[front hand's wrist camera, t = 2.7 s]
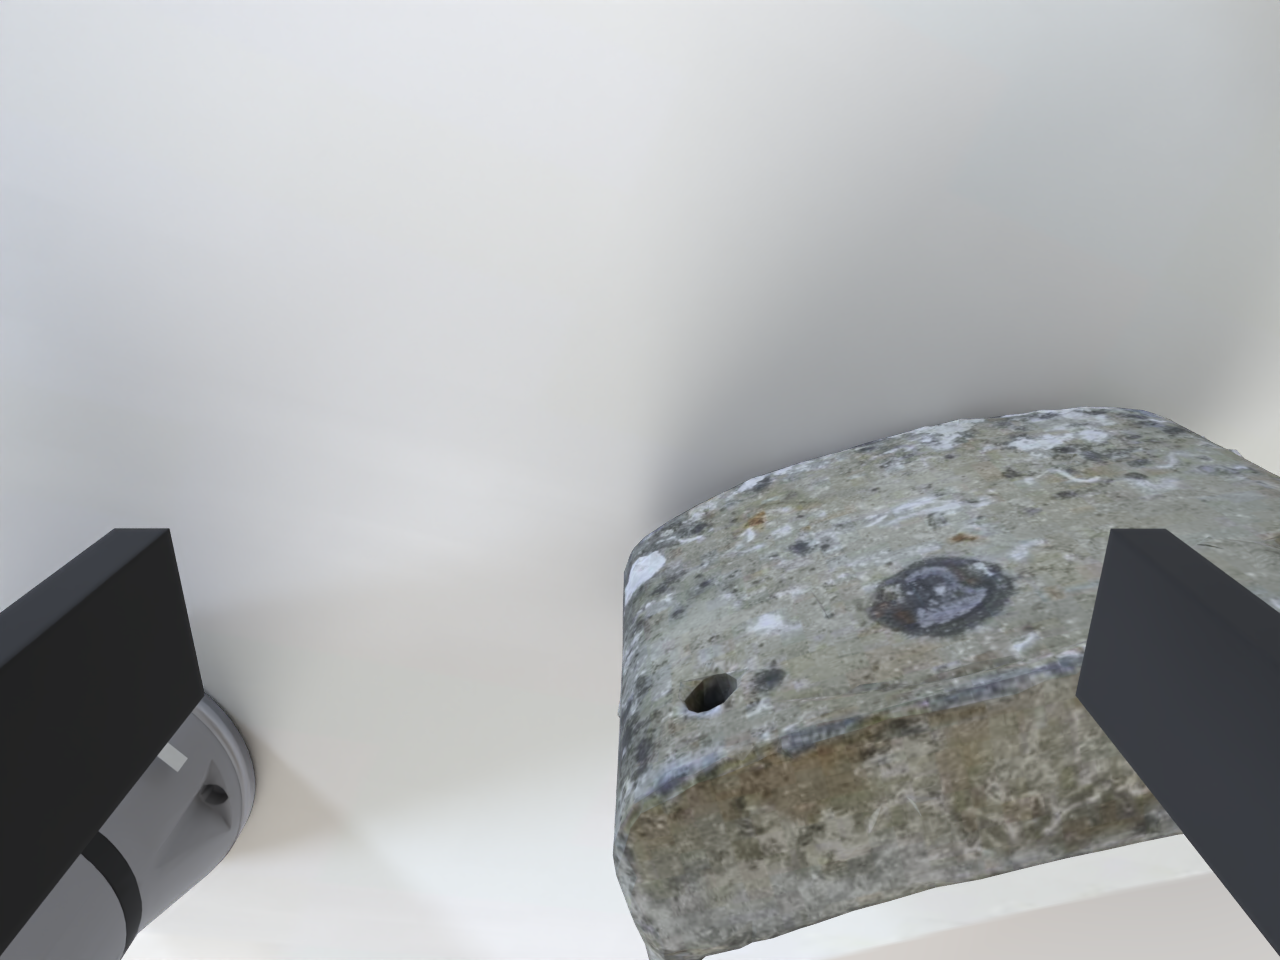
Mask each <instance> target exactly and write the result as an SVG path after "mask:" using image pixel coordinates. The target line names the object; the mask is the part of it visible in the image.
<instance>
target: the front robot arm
mask: <svg viewBox="0 0 1280 960" xmlns="http://www.w3.org/2000/svg"><path fill="white" fill-rule="evenodd" d="M1075 696H1076V697H1077V698H1078V699H1079V701H1080V702H1081V703H1082V705H1083V706H1084V707H1085V708H1086V710H1087V711H1088V712H1089V714H1090V715H1091V716H1092V717H1093V719H1094V720H1095V721H1096V722H1097V724H1098V725H1099V726H1100V728H1101V729H1102V730H1103V731H1104V733H1105V734H1106V735H1107V737H1108V738H1109V739H1110V740H1111V742H1112V743H1113V744H1114V745H1115V747H1116V748H1117V749H1118V751H1119V752H1120V753H1121V754H1122V756H1123V757H1124V758H1125V759H1126V761H1127V762H1128V763H1129V765H1130V766H1131V767H1132V768H1133V770H1134V771H1135V772H1136V774H1137V775H1138V776H1139V777H1140V779H1141V780H1142V781H1143V782H1144V784H1145V785H1146V786H1147V788H1148V789H1149V790H1150V791H1151V793H1152V794H1153V795H1154V796H1155V798H1156V799H1157V800H1158V802H1159V803H1160V804H1161V805H1162V807H1163V808H1164V809H1165V811H1166V812H1167V813H1168V814H1169V816H1170V817H1171V818H1172V819H1173V821H1174V822H1175V823H1176V825H1177V826H1178V827H1179V828H1180V830H1181V831H1182V832H1183V834H1184V835H1185V836H1186V837H1187V839H1188V840H1189V841H1190V842H1191V844H1192V845H1193V846H1194V848H1195V849H1196V850H1197V851H1198V853H1199V854H1200V855H1201V856H1202V858H1203V859H1204V860H1205V862H1206V863H1207V864H1208V865H1209V867H1210V868H1211V869H1212V871H1213V872H1214V873H1215V874H1216V876H1217V877H1218V878H1219V879H1220V881H1221V882H1222V883H1223V885H1224V886H1225V887H1226V888H1227V890H1228V891H1229V892H1230V893H1231V895H1232V896H1233V897H1234V899H1235V900H1236V901H1237V902H1238V904H1239V905H1240V906H1241V908H1242V909H1243V910H1244V911H1245V913H1246V914H1247V915H1248V916H1249V918H1250V919H1251V920H1252V922H1253V923H1254V924H1255V925H1256V927H1257V928H1258V929H1259V931H1260V932H1261V933H1262V934H1263V935H1264V937H1265V938H1266V939H1267V941H1268V942H1269V943H1270V945H1271V946H1272V947H1273V948H1274V950H1275V951H1276V952H1277V953H1278V955H1279V956H1280V613H1279V612H1278V611H1276V610H1275V609H1274V608H1272V607H1271V606H1270V605H1268V604H1267V603H1266V602H1264V601H1263V600H1262V599H1260V598H1259V597H1258V596H1256V595H1255V594H1253V593H1252V592H1251V591H1249V590H1248V589H1247V588H1245V587H1244V586H1243V585H1241V584H1240V583H1239V582H1237V581H1236V580H1235V579H1233V578H1232V577H1230V576H1229V575H1228V574H1226V573H1225V572H1224V571H1222V570H1221V569H1220V568H1218V567H1217V566H1216V565H1214V564H1213V563H1212V562H1210V561H1209V560H1207V559H1206V558H1205V557H1203V556H1202V555H1201V554H1199V553H1198V552H1197V551H1195V550H1194V549H1193V548H1191V547H1190V546H1189V545H1187V544H1186V543H1184V542H1183V541H1182V540H1180V539H1179V538H1178V537H1176V536H1175V535H1174V534H1172V533H1171V532H1170V531H1168V530H1167V529H1110V534H1109V539H1108V543H1107V548H1106V553H1105V558H1104V562H1103V567H1102V572H1101V576H1100V581H1099V586H1098V591H1097V595H1096V600H1095V605H1094V609H1093V614H1092V619H1091V624H1090V628H1089V633H1088V638H1087V643H1086V647H1085V652H1084V657H1083V661H1082V666H1081V671H1080V676H1079V680H1078V685H1077V690H1076V695H1075ZM254 796H255V775H254V769H253V764H252V760H251V757H250V754H249V751H248V749H247V746H246V744H245V742H244V740H243V738H242V736H241V735H240V733H239V731H238V729H237V728H236V726H235V725H234V724H233V722H232V721H231V719H230V718H229V717H228V716H227V714H226V713H225V712H224V711H223V710H222V709H221V708H220V707H219V706H218V705H217V704H216V703H215V702H214V701H213V700H212V699H211V698H210V697H209V696H208V695H207V694H205V693H204V690H203V685H202V680H201V676H200V671H199V666H198V661H197V657H196V652H195V647H194V643H193V638H192V633H191V628H190V624H189V619H188V614H187V609H186V605H185V600H184V595H183V591H182V586H181V581H180V576H179V572H178V567H177V562H176V558H175V553H174V548H173V543H172V539H171V534H170V529H113V530H112V531H110V532H109V533H108V534H106V535H105V536H104V537H102V538H101V539H100V540H98V541H97V542H96V543H94V544H93V545H91V546H90V547H89V548H87V549H86V550H85V551H83V552H82V553H81V554H79V555H78V556H77V557H75V558H74V559H73V560H71V561H70V562H68V563H67V564H66V565H64V566H63V567H62V568H60V569H59V570H58V571H56V572H55V573H54V574H52V575H51V576H50V577H48V578H47V579H45V580H44V581H43V582H41V583H40V584H39V585H37V586H36V587H35V588H33V589H32V590H31V591H29V592H28V593H27V594H25V595H24V596H22V597H21V598H20V599H18V600H17V601H16V602H14V603H13V604H12V605H10V606H9V607H8V608H6V609H5V610H4V611H2V612H1V613H0V960H121V959H122V957H123V955H124V954H125V952H126V951H127V949H128V948H129V946H130V945H131V943H132V941H133V940H134V938H135V937H136V935H137V934H138V933H139V932H140V931H141V930H142V929H143V928H145V927H146V926H147V925H148V924H149V923H151V922H152V921H153V920H154V919H155V918H157V917H158V916H159V915H160V914H161V913H162V912H164V911H165V910H166V909H167V908H168V907H170V906H171V905H172V904H173V903H174V902H176V901H177V900H178V899H179V898H180V897H182V896H183V895H184V894H185V893H186V892H187V891H189V890H190V889H191V888H192V887H193V886H195V885H196V884H197V883H198V882H199V881H201V880H202V879H203V878H204V877H205V876H207V875H208V874H209V873H210V872H211V871H212V870H213V869H214V868H215V867H216V866H217V865H218V864H219V863H220V862H221V861H222V860H223V858H224V857H225V856H226V855H227V854H228V852H229V851H230V849H231V848H232V846H233V845H234V843H235V841H236V839H237V838H238V836H239V834H240V833H241V831H242V829H243V827H244V826H245V824H246V822H247V820H248V817H249V815H250V812H251V809H252V806H253V801H254Z"/></svg>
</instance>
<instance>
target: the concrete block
mask: <svg viewBox="0 0 1280 960" xmlns="http://www.w3.org/2000/svg"><path fill="white" fill-rule="evenodd" d="M1110 529H1167V530H1168V531H1170V532H1171V533H1172V534H1174V535H1175V536H1176V537H1178V538H1179V539H1180V540H1182V541H1183V542H1184V543H1186V544H1187V545H1189V546H1190V547H1191V548H1193V549H1194V550H1195V551H1197V552H1198V553H1199V554H1201V555H1202V556H1203V557H1205V558H1206V559H1207V560H1209V561H1210V562H1212V563H1213V564H1214V565H1216V566H1217V567H1218V568H1220V569H1221V570H1222V571H1224V572H1225V573H1226V574H1228V575H1229V576H1230V577H1232V578H1233V579H1235V580H1236V581H1237V582H1239V583H1240V584H1241V585H1243V586H1244V587H1245V588H1247V589H1248V590H1249V591H1251V592H1252V593H1253V594H1255V595H1256V596H1258V597H1259V598H1260V599H1262V600H1263V601H1264V602H1266V603H1267V604H1268V605H1270V606H1271V607H1272V608H1274V609H1275V610H1276V611H1278V612H1279V613H1280V477H1279V476H1277V475H1275V474H1273V473H1270V472H1269V471H1267V470H1265V469H1263V468H1261V467H1260V466H1258V465H1256V464H1254V463H1252V462H1250V461H1248V460H1246V459H1244V458H1243V457H1242V455H1241V454H1240V453H1239V452H1238V451H1237V450H1229V449H1225V448H1223V447H1221V446H1219V445H1217V444H1215V443H1213V442H1211V441H1209V440H1207V439H1206V438H1205V437H1204V436H1200V435H1198V434H1196V433H1194V432H1192V431H1190V430H1188V429H1186V428H1184V427H1182V426H1181V425H1179V424H1177V423H1175V422H1173V421H1171V420H1170V419H1167V418H1164V417H1162V416H1159V415H1156V414H1153V413H1150V412H1147V411H1144V410H1134V409H1125V408H1110V407H1078V408H1070V409H1062V410H1038V411H1034V412H1030V413H1024V414H1015V415H1005V416H999V417H993V418H983V419H958V420H955V421H951V422H947V423H943V424H939V425H936V426H925V427H922V428H918V429H915V430H912V431H909V432H905V433H902V434H898V435H895V436H891V437H887V438H883V439H880V440H876V441H872V442H869V443H866V444H862V445H859V446H856V447H853V448H850V449H847V450H844V451H841V452H837V453H833V454H829V455H825V456H822V457H818V458H815V459H811V460H808V461H804V462H800V463H797V464H794V465H791V466H788V467H785V468H783V469H779V470H776V471H773V472H770V473H767V474H764V475H761V476H757V477H754V478H751V479H750V480H748V481H746V482H744V483H742V484H740V485H738V486H736V487H734V488H732V489H730V490H727V491H725V492H723V493H721V494H719V495H717V496H715V497H713V498H711V499H709V500H707V501H705V502H703V503H701V504H699V505H697V506H695V507H693V508H691V509H690V510H688V511H686V512H684V513H683V514H681V515H679V516H677V517H675V518H674V519H672V520H670V521H669V522H667V523H666V524H664V525H663V526H661V527H659V528H658V529H656V530H655V531H653V532H652V533H650V534H649V535H647V536H646V537H644V538H643V539H642V540H641V542H640V543H639V544H638V545H637V546H636V547H635V548H634V549H633V551H632V553H631V554H630V557H629V560H628V563H627V566H626V569H625V571H624V594H623V664H622V680H621V697H620V704H619V710H618V716H619V717H620V732H619V751H618V773H617V790H616V812H615V834H614V846H613V858H614V864H615V870H616V875H617V878H618V881H619V883H620V886H621V889H622V892H623V894H624V897H625V900H626V902H627V905H628V908H629V910H630V913H631V915H632V918H633V920H634V923H635V925H636V927H637V929H638V931H639V933H640V935H641V937H642V939H643V941H644V943H645V945H646V949H647V953H648V957H649V960H702V959H703V958H704V957H705V956H709V955H713V954H718V953H722V952H726V951H731V950H735V949H739V948H742V947H744V946H746V945H748V944H750V943H752V942H757V941H761V940H766V939H771V938H775V937H777V936H780V935H783V934H786V933H789V932H791V931H794V930H797V929H800V928H803V927H807V926H810V925H813V924H816V923H819V922H822V921H825V920H828V919H831V918H834V917H837V916H840V915H843V914H845V913H848V912H851V911H854V910H858V909H862V908H865V907H869V906H873V905H876V904H880V903H884V902H888V901H891V900H895V899H898V898H901V897H905V896H908V895H911V894H915V893H918V892H922V891H925V890H928V889H932V888H935V887H941V886H946V885H952V884H957V883H963V882H968V881H974V880H979V879H983V878H987V877H991V876H995V875H999V874H1003V873H1007V872H1011V871H1015V870H1019V869H1023V868H1028V867H1032V866H1036V865H1040V864H1044V863H1048V862H1052V861H1057V860H1061V859H1065V858H1069V857H1074V856H1079V855H1084V854H1089V853H1093V852H1098V851H1103V850H1108V849H1112V848H1117V847H1121V846H1126V845H1130V844H1135V843H1139V842H1144V841H1149V840H1154V839H1159V838H1164V837H1168V836H1173V835H1178V834H1183V832H1182V831H1181V830H1180V828H1179V827H1178V826H1177V825H1176V823H1175V822H1174V821H1173V819H1172V818H1171V817H1170V816H1169V814H1168V813H1167V812H1166V811H1165V809H1164V808H1163V807H1162V805H1161V804H1160V803H1159V802H1158V800H1157V799H1156V798H1155V796H1154V795H1153V794H1152V793H1151V791H1150V790H1149V789H1148V788H1147V786H1146V785H1145V784H1144V782H1143V781H1142V780H1141V779H1140V777H1139V776H1138V775H1137V774H1136V772H1135V771H1134V770H1133V768H1132V767H1131V766H1130V765H1129V763H1128V762H1127V761H1126V759H1125V758H1124V757H1123V756H1122V754H1121V753H1120V752H1119V751H1118V749H1117V748H1116V747H1115V745H1114V744H1113V743H1112V742H1111V740H1110V739H1109V738H1108V737H1107V735H1106V734H1105V733H1104V731H1103V730H1102V729H1101V728H1100V726H1099V725H1098V724H1097V722H1096V721H1095V720H1094V719H1093V717H1092V716H1091V715H1090V714H1089V712H1088V711H1087V710H1086V708H1085V707H1084V706H1083V705H1082V703H1081V702H1080V701H1079V699H1078V698H1077V697H1076V696H1075V695H1076V690H1077V685H1078V680H1079V676H1080V671H1081V666H1082V661H1083V657H1084V652H1085V647H1086V643H1087V638H1088V633H1089V628H1090V624H1091V619H1092V614H1093V609H1094V605H1095V600H1096V595H1097V591H1098V586H1099V581H1100V576H1101V572H1102V567H1103V562H1104V558H1105V553H1106V548H1107V543H1108V539H1109V534H1110Z"/></svg>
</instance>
